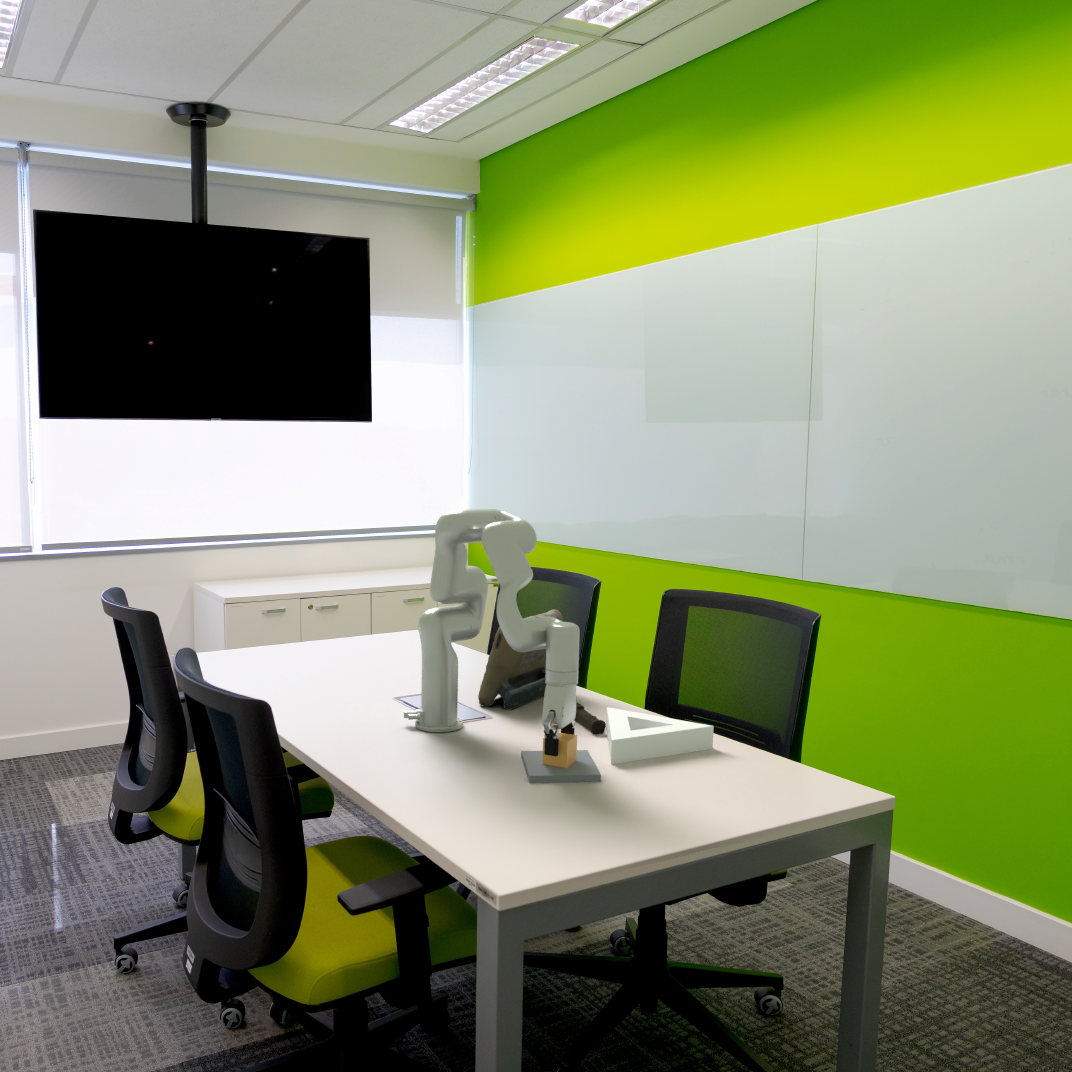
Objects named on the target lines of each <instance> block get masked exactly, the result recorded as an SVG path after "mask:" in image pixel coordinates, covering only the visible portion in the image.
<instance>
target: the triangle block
mask: <svg viewBox="0 0 1072 1072" xmlns="http://www.w3.org/2000/svg"><path fill="white" fill-rule="evenodd" d="M605 723H606V727H605V731H606V736H607V743H608V751H609V758H610V764H611V765H613V764H619V763H625V762H632V761H633V762H634V761H641V760H645V759H653V758H659V757H666V756H673V755H679V754H680V755H681V754H686V753H693V752H698V751H704V750H712V749H714V748H713V747H714V730H715V729H714V728H715V727H714V725H712V724H711V725H709V724H705V723H699V722H694V721H693V722H692V721H686V720H681V719H677V718H676V719H675V718H671V717H664V716H658V715H654V714H648V713H643V712H642V713H641V712H636V711H630V710H624V709H619V708H616V707H615V708H614V707H609V706H607V707H606V722H605Z"/></svg>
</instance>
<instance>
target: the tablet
mask: <svg viewBox="0 0 1072 1072" xmlns="http://www.w3.org/2000/svg"><path fill="white" fill-rule="evenodd" d="M545 616H550V617H554V618H556V619H558V620H560V621H562V622H564V617H563V614H562V613H561V612H560V610H558V609H555V608H554V609H550V610H547V612H544V613H538V614H536V615H530V616H528V617H523V619H529V618H537V617H545ZM497 628H498V629H497V631H496V633H495V636H494V639H493V640H494V641H493V642H492V648H491V650H490V653H489V655H488V659H487V663H486V664H485V665H486V666H485V672H484V674H483V677H482V681H481V682H480V683H481V684H480V687H479V691H478V695H477V699H478V704H479V705H480V706H483V707H490V706H492V705H493V704H494V703H495V700H496V697H498V695H499V696H500V697H501V699H502V700H503V708H504V709H505V710H510V711H511V710H514V709H516V708H518V707H521V706H524V705H527V704H529V703H531V702H534V701H536V700H539V699H541V698H544V694H545V688H546V683H545V674H546V649H541V650H534V651H528V652H517V651H515V650H514V649H512V648H511V647H510V645H509V644H508V643H507V641H506V639H505V637H504V635H503V632H502V630H501V628H500V626H499V627H497Z"/></svg>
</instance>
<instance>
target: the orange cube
mask: <svg viewBox="0 0 1072 1072" xmlns="http://www.w3.org/2000/svg"><path fill="white" fill-rule="evenodd" d="M554 733H555V731H554ZM557 739H559V751H558V756H550V755H545V753H544V751H545V738H544V737H543V738H542V751H543V764H546V765H552V766H558V767H564V768H567V767H569V766H570V765H571V764H573V763H574V762H575V761H576V759H577V750H578V735H577V734H574V735H572V734H565V733H561V732H559V734H558V737H557Z"/></svg>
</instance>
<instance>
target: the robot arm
mask: <svg viewBox="0 0 1072 1072" xmlns="http://www.w3.org/2000/svg"><path fill="white" fill-rule="evenodd" d="M535 530H536V529H534V528H533V526H532V524H530V522H528V521H527V520H525V519H523V518H520V517H518V516H515V515H513V514H511V513H508V512H506V511H504V510H502V509H496V508H480V509H479V508H470V509H469V508H467V509H454V510H450V511H446V512H444V513H443V514H441V515H440V516H439V518H438V519H437V521H436V524H435V529H434V542H435V544H434V545H435V549H434V550H435V551H434V558H433V562H432V563H433V564H432V572H431V578H430V585H429V594H430V595H429V596H430V598H431V599H432V601H433V602H435V603H437V604H441V605H444V606H437V607H432V608H429V609H427V610H425V611H424V612H423V613H422V614H421V615H420V617H419V619H418V625H417V626H418V633H419V635H418V636H419V639H420V645H421V646H420V647H421V649H420V650H421V691H420V692H421V696H420V697H421V698H420V699H421V700H420V701H421V702H420V707H419V709H415V710H403V718H404V719H408V720H411V721H412V720H415V722H414V727H415V728H416V729H418V730H420V731H423V732H430V733H447V732H453V731H458V730H460V729H461V728H463V726H464V721H463V720H462V719H461V718H460V717H459V718H458V700H459V699H458V698H459V697H458V696H459V693H458V692H459V660H458V658H459V657H458V655H457V652H456V651H455V649H454V648H453V645H452V643H456V642H462V641H469V640H472V639H474V638H476V637H477V636H478V635H479V634H480V632H481V629H482V627H483V621H484V616H485V609H486V604H487V599H488V590H489V589H488V588H489V586H488V579H487V576H486V574H485V572H484V571H483V570H482V568H480V567H478V566H474V565H467V564H468V558H469V554H468V549H467V546H466V544H471V543H473V544H475V543H477V544H479V543H481V545H482V546H483V549H484V551H485V554H486V557H487V559H488V561H489V563H490V566H491V568H492V570H493V573H494V575H495V577H496V580H497V582H498V583H499V589H500V590H499V593H498V595H497V600H496V618H497V621H498V625H499V627H500V628H501V630H502V632H503V635H504V637H505V639H506V641H507V643H508V644H509V645H510V647H511V648H512V649H514V650H515V651H517V652H528V651H534V650H541V649H546V674H545V683H546V688H545V694H544V697H543V705H542V715H541V717H542V718H541V725H542V726H543V729H544V730H543V733H544V735H543V738H545V751H544V753H545V755H550V756H558V751H559V739H557V737H558V734H559V733H565V734H572V735H575V727H576V721H575V718H576V717H575V716H576V702H577V685H578V684H579V666H580V665H579V664H580V663H579V660H580V658H579V657H580V656H579V655H580V635H581V634H580V632H581V631H580V627H579V626H578V625H577V624H576V623H575V622H569V621H560V620H558V619H556V618H554V617H550V616H545V617H537V618H529V619H524V617H523V616H522V615H521V611H520V610H519V607H518V602H517V595H518V592H519V591H520V590H522V589H523V588H525V587H526V586H527V585H529V583H530V582H531V581H532V579H533V578H534V572H533V569H532V568H531V565H530V563H529V561H528V560H529V559H527V557H526V554H529V553H531V552H532V551H534V550H535V547H536V546H537V539H538V538H537V533H536V531H535ZM451 604H457V605H451ZM445 605H446V606H445ZM554 730H555V731H554ZM554 732H555V733H554Z"/></svg>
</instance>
